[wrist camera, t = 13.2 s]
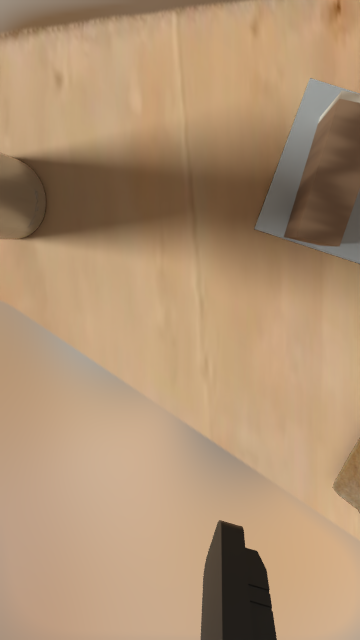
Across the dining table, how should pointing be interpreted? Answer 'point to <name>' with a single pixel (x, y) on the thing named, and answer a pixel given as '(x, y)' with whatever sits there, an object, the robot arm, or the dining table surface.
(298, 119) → the felt mat
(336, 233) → the brown rectangular block
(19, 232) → the robot arm
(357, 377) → the dining table surface
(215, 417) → the dining table surface
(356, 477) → the stone cup
